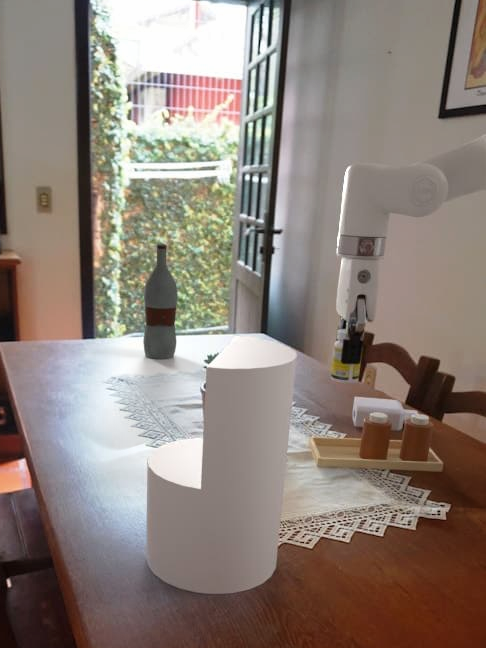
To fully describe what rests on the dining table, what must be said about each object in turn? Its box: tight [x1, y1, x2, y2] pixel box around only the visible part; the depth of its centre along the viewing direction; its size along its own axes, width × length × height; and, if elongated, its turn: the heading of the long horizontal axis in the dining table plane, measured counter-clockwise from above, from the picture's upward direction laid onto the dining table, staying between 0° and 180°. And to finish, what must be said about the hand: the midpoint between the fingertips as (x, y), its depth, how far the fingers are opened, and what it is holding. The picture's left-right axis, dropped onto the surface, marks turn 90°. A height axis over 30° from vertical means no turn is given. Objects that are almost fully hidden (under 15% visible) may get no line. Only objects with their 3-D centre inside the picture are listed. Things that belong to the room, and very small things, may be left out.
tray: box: [308, 436, 444, 472], centre depth 126 cm, size 22×11×2 cm, turn 90°
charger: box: [351, 396, 419, 432], centre depth 144 cm, size 5×9×15 cm
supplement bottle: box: [330, 329, 363, 384], centre depth 116 cm, size 5×5×8 cm
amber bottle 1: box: [359, 412, 392, 460], centre depth 124 cm, size 5×5×8 cm
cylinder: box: [145, 334, 298, 595], centre depth 85 cm, size 17×17×28 cm
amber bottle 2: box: [399, 413, 435, 462], centre depth 124 cm, size 5×5×8 cm
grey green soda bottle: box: [143, 243, 179, 360], centre depth 187 cm, size 9×9×30 cm
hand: (347, 358), depth 116 cm, fingers closed on supplement bottle, 4 cm apart
